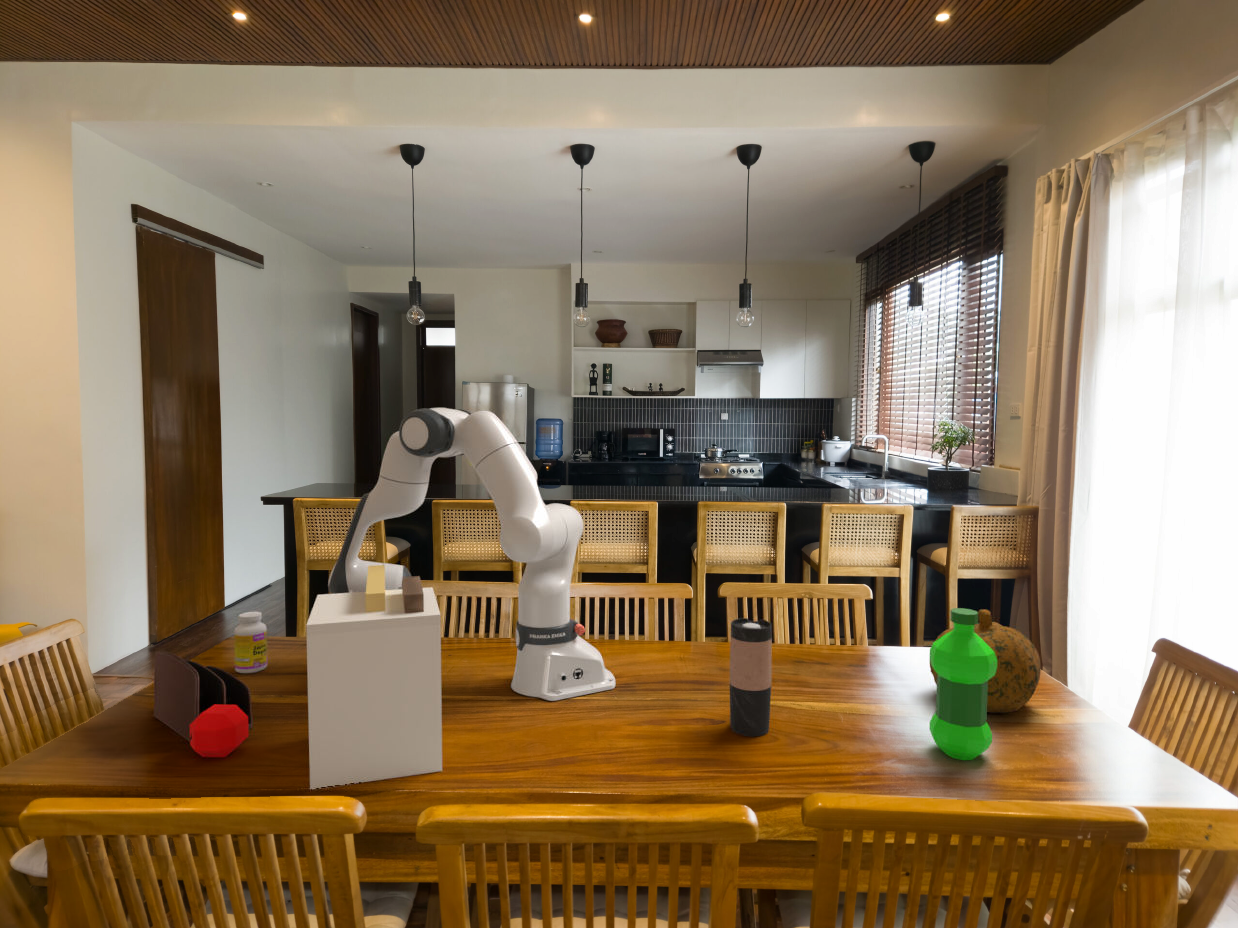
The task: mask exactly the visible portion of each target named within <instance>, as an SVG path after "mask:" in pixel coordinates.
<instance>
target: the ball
mask: <svg viewBox="0 0 1238 928" xmlns="http://www.w3.org/2000/svg"><path fill="white" fill-rule="evenodd" d="M249 730H250V729H248V716H247V715H246V714H245V713H244V712H243V711H242V710H241V709H240V708H239V707H238V706H237V705H221V704H214V705H213V706H211V707H210V708H208V709H207V710H205V711H204V712H202V713H201V714H200V715H199V716H198V717H197V718H196V719H195V720H194V721H193V722H192V723H191V724H190V739H191V741H190V742H189V746H190V747H191V748H192V749H193V750H194V752H196V753H197V754H198V755H200V756H201V757H202V758H226V757H228V756H229V755H230V754H231V753H232V752H233V751H235V750H236V749H238V747H239V746H241V744H243V742H244V741H246V740H247V738H249V736H250V735H249V732H250V731H249Z"/></svg>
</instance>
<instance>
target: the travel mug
mask: <svg viewBox="0 0 1238 928" xmlns="http://www.w3.org/2000/svg"><path fill="white" fill-rule="evenodd" d="M772 626H773V625H772V623H771V622H770V621H768V620H765V619H759V620H755V621H754V620H753V621H752V620H749V619H748V618H746V617H740V618H735V619H733V620H732V621H731V622H730V646H729V648H730V649H729V650H730V651H729V653H730V654H729V658H730V659H729V719H730V720H729V721H730V722H729V725H730V729H731V730H732V732H733V733H736V734H738V735H740V736H745V737H760V736H765V735H766V734H768V732H769V730H770V717H771V715H770V714H771V700H772V699H771V695H772V646H773V645H772V643H773V642H772V640H773V639H772V637H773V634H772V633H773V632H772V628H773V627H772Z"/></svg>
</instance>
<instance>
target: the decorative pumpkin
mask: <svg viewBox="0 0 1238 928" xmlns="http://www.w3.org/2000/svg"><path fill="white" fill-rule="evenodd" d="M977 612H978V624H976V625H974V632H975V633H976V634H977V635H978V636H979V637H980V638H981V639H982V640H983V641H984V642H985V643H986V644H987V645H988V646H989V647H990V648H991V649H992V650H993V651H994V652H995V655H996V658H997V670H996V673H995V675H994V676H993V677H992V678H991V679H989V680H988V692H987V713H992V714H993V713H1005V714H1007V713H1011V712H1017V711H1018V710H1019V709H1021V708H1022V707H1024V706H1025V705H1026V704H1028V703H1029V701H1030V700H1031V698H1032V697H1033V696H1034V694H1035V692H1036V689H1037V688H1038V685H1039V683H1040V678H1041V658H1040V655H1039V652H1038V650H1037V648H1036V647H1035V645H1034V644H1033V642H1032V641H1031V640H1030V639H1029V638H1028V637H1027V636H1026V635H1025V634H1023V633H1022V632H1021V631H1020V630H1018V629H1015V628H1013V627H1009V626H1006V625H1005V626H1003V625H1002V624H1000V623H998V622H996V621H992V615H991V610H988V609H983V608H981V609H979V610H978V611H977ZM953 628H954V627H951V628H948V629H946V630H944V631H942V632H941V633H940V634H939V635H938V636H937V638H936V639H935V641H937V640H938V639H939V638H941V637H942V636H944V635H945V634H947V633H949V632H950V631H952V630H953ZM935 641H934V642H935ZM929 669H930V672H931V675H932V677H933V680H934V683H935V685H936V686H937V673H936V671H935V670H934V669H933V667H932V665H931V661H930V660H929Z"/></svg>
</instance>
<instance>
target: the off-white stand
mask: <svg viewBox="0 0 1238 928" xmlns="http://www.w3.org/2000/svg"><path fill="white" fill-rule="evenodd" d="M422 589H423V594H424V612H416V613H405V612H404V603H403V593H402V589H399V590H385V611H378V612H366V592H353V593H338V594H331V593H325V594H324V593H323V594H317V595H316V598H315V601H314V604H313V607H312V608H311V611H310V614H309V617H308V619H307V621H306V622H307V623H306V624H305V625H306V663H307V665H306V667H307V668H306V669H307V705H308V706H307V707H308V708H307V710H308V711H307V714H308V718H307V719H308V749H309V750H308V751H309V755H308V756H309V758H308V759H309V761H308V762H309V790H310V791H311V789H312V790H317V789H316V788H319V789H322V788H321V787H326V788H328V787H327V786H333V787H336V786H335V785H340V786H346V785H345V784H347V785H351V784H350V783H354V784H359V782H361V783H366V782H367V783H368V782H373V781H375V782H376V781H381V780H387V779H395V778H396V779H397V778H401V777H410V776H417V775H423V774H430V773H436V772H443V727H442V726H443V724H442V723H443V719H442V717H443V715H442V714H443V713H442V712H443V711H442V708H443V707H442V705H443V704H442V643H441V642H442V638H441V637H442V636H441V635H442V633H441V632H442V631H441V627H442V625H441V624H442V623H441V622H442V621H441V620H442V619H441V616H442V615H441V611H440V607H439V605H438V601H437V598H436V595H435V592H434V588H433V587H432V586H431V587H422Z"/></svg>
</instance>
